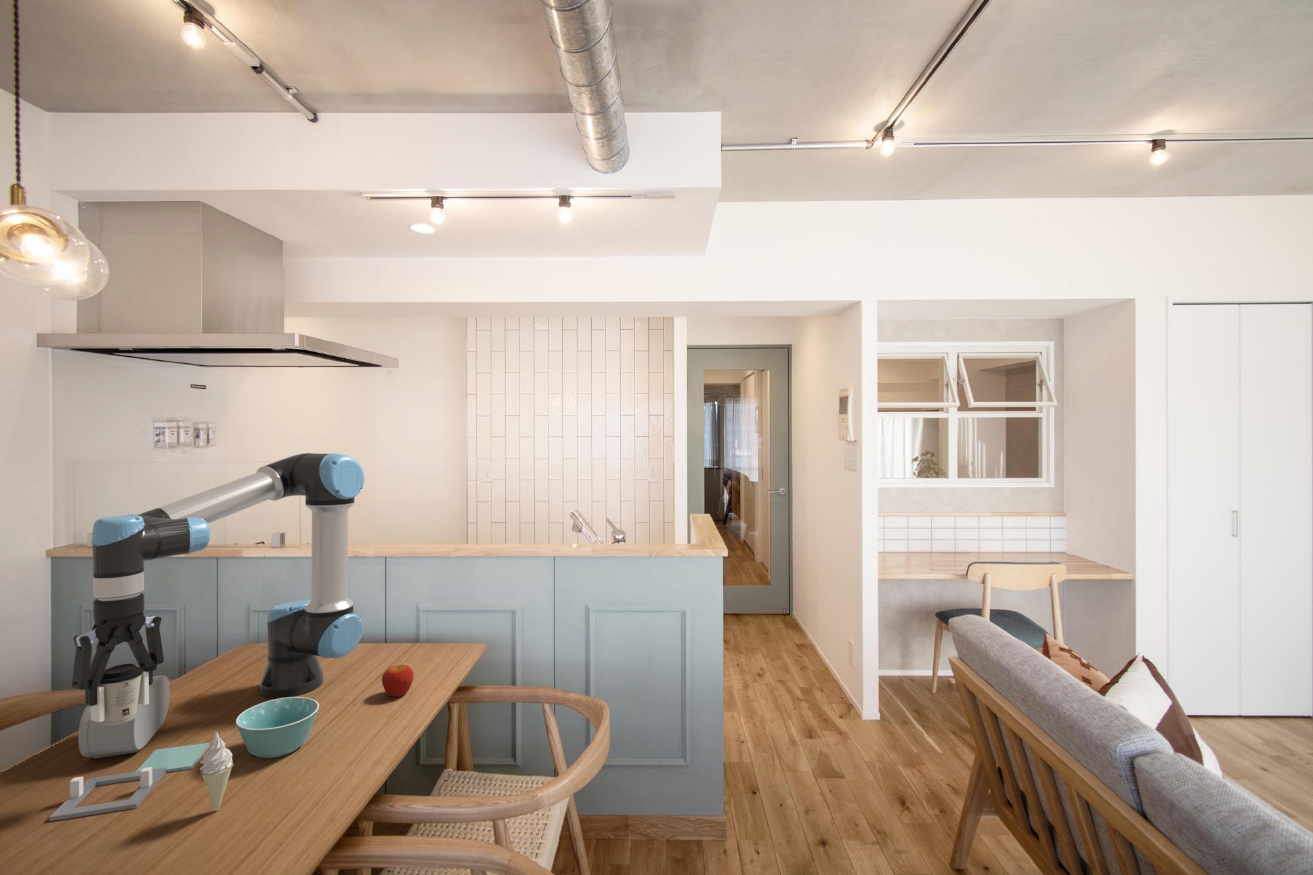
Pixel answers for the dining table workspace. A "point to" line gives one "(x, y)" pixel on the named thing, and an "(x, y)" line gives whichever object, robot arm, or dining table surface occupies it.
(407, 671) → the apple
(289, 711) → the bowl
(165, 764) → the coaster
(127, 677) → the coffee cup
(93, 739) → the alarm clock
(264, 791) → the dining table surface
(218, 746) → the ice cream cone
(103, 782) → the collar
